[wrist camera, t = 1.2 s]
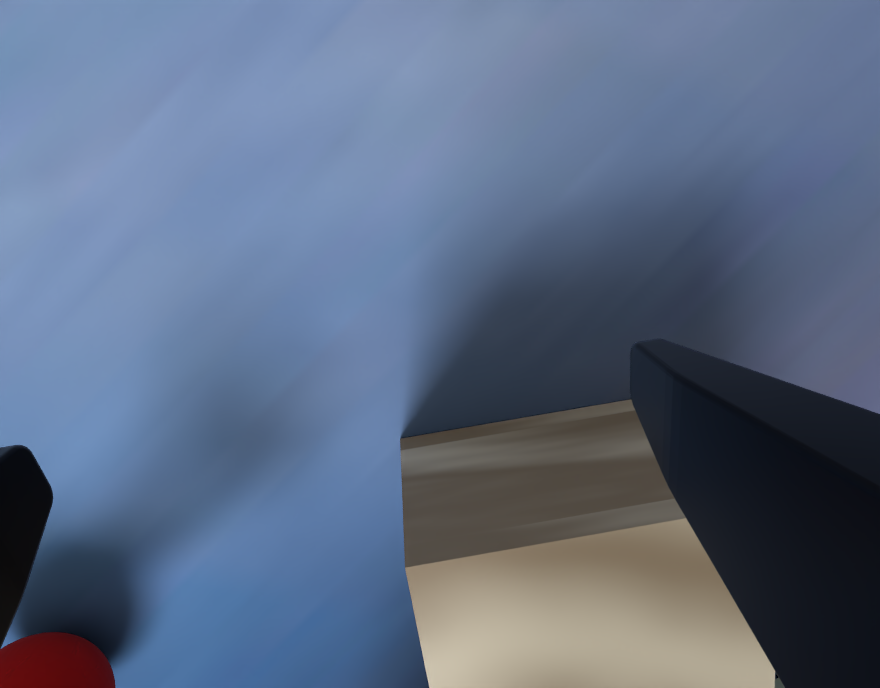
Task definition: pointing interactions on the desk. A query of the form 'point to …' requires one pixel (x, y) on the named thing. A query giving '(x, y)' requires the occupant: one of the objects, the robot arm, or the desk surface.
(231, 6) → the desk surface
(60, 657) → the molecular model
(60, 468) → the desk surface
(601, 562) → the cabinet
